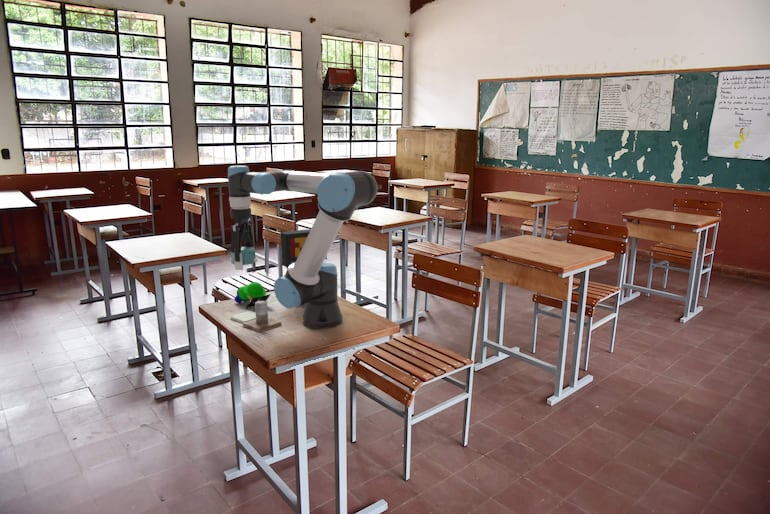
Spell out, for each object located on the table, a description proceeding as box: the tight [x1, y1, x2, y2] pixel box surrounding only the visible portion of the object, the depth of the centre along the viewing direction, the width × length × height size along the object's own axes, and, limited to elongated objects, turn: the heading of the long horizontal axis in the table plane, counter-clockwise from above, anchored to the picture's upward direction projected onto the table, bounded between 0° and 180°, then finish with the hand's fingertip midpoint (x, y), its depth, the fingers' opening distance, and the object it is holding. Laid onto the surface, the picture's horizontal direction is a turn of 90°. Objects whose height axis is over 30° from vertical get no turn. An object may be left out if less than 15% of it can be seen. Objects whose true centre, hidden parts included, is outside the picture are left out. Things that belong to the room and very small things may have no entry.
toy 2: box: [280, 228, 311, 270], centre depth 230 cm, size 14×6×30 cm, turn 119°
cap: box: [229, 246, 258, 266], centre depth 205 cm, size 8×11×5 cm
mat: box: [229, 310, 256, 324], centre depth 210 cm, size 9×9×1 cm
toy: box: [234, 281, 272, 309], centre depth 226 cm, size 10×11×15 cm
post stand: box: [242, 300, 282, 333], centre depth 202 cm, size 10×10×9 cm
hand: (244, 266), depth 206 cm, fingers closed on cap, 8 cm apart
